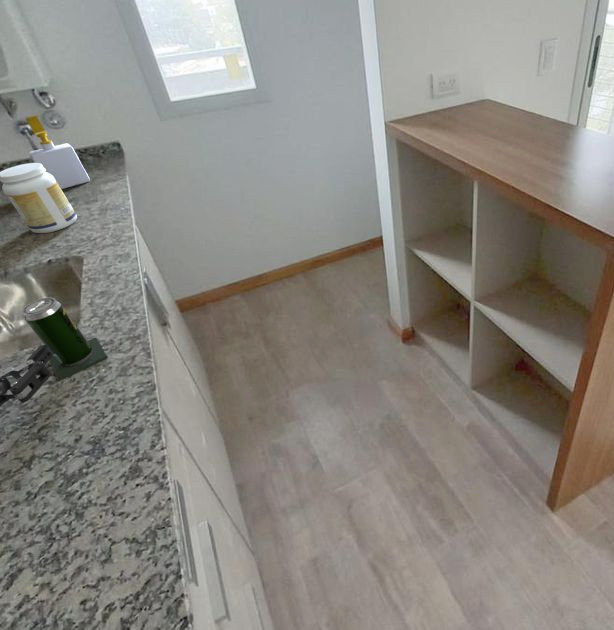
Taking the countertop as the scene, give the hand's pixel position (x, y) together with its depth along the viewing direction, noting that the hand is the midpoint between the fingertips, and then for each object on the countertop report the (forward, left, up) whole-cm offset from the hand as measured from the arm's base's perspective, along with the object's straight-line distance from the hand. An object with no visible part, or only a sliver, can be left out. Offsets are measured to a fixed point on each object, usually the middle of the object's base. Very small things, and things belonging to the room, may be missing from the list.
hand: (20, 351), depth 70 cm
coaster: (+5, +6, -9) cm, 12 cm away
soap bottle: (+25, +118, -9) cm, 121 cm away
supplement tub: (+14, +81, -9) cm, 83 cm away
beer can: (+5, +6, -9) cm, 12 cm away
